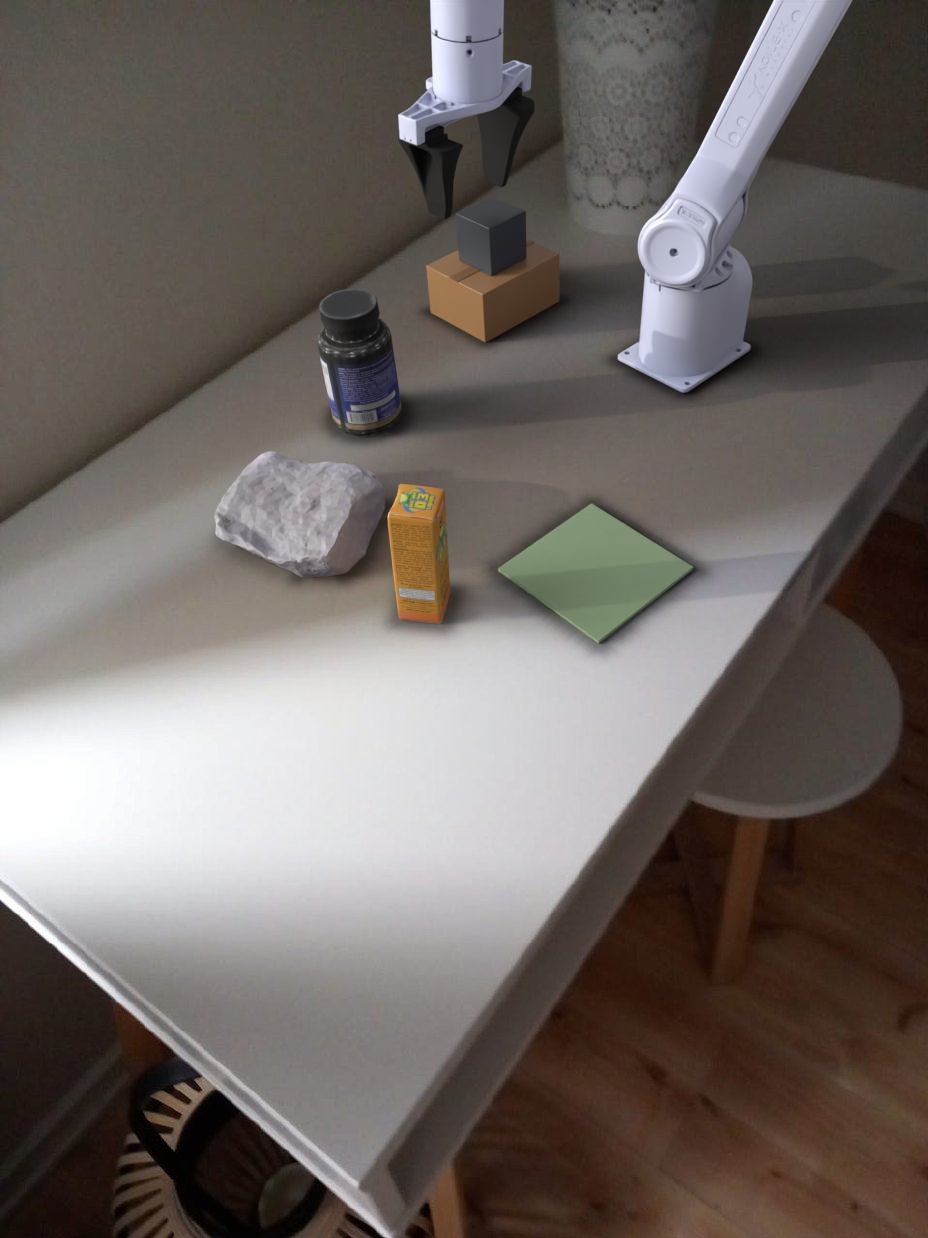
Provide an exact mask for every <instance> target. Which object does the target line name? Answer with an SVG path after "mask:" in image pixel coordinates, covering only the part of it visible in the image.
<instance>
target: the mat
mask: <svg viewBox="0 0 928 1238" xmlns="http://www.w3.org/2000/svg"><path fill="white" fill-rule="evenodd" d="M693 570H694V566H693V565H691V564H689V563H688V562H686V561H685V560H683V559H681V558H680V557H678V556H676V555H675V554H674V553H672V552H670V551H668V550H667V549H666V548H664V547H662V546H661V545H659V544H657V543H656V542H654V541H653V540H651V539H649V538H648V537H646V536H645V535H643V534H641V533H640V532H638V531H636V529H633V528H632V527H630V526H628V525H627V524H626V523H624V522H623V521H621V520H619V519H618V518H616V517H614V516H613V515H611V514H609V513H608V512H606V511H605V510H603V509H601V508H600V507H598V506H597V505H595V504H594V503H592V502H591V503H590V504H588V505H587V506H585V507H584V508H582V509H581V510H580V511H578V512H577V513H575V514H574V515H573V516H571V517H569V518H568V519H567V520H565V521H564V522H562V523H561V524H560V525H558V526H557V527H555V528H554V529H553V530H551V531H550V532H547V534H545V535H543V536H542V537H541V538H540V539H538V540H536V541H535V542H534V543H532V544H531V545H529V546H527V548H525V549H524V550H522V551H520V552H519V553H518V554H517V555H515V556H514V557H512V558H510V559H509V560H508V561H506V562H505V563H503V564H502V565H501V566H499V567H497V571H498V572H499V573H500V574H501V575H503V576H504V577H506V578H507V579H509V580H510V581H511V582H513V584H515V585H517V586H518V587H519V588H521V589H522V590H524V592H526V593H528V594H529V595H530V596H532V597H533V598H534V599H536V600H537V601H538V602H540V603H541V604H542V605H544V606H546V607H547V608H548V609H549V610H551V611H552V612H554V613H555V614H557V615H558V616H560V617H561V618H562V619H564V620H565V621H566V622H568V623H569V624H570V625H572V626H573V627H575V628H576V629H577V630H579V631H580V632H581V633H583V634H584V635H585V636H586V637H589V638H590V639H591V640H593V642H595V643H597V644H600V643H602V642H603V641H604V640H606V639H607V638H608V637H609V636H610V635H612V634H613V633H615V632H616V631H617V630H618V629H620V628H621V627H622V626H623V625H624V624H626V623H627V622H628V621H630V620H631V619H632V618H633V617H635V616H636V615H637V614H639V613H640V612H641V611H642V610H644V609H645V608H646V607H647V606H649V605H650V604H651V603H653V602H654V601H655V600H657V599H658V598H659V597H660V596H661V595H663V593H666V592H667V591H668V590H669V589H670V588H672V587H674V586H675V584H677V583H678V582H680V581H681V580H682V579H683V578H685V577H686V576H687V575H688V574H689V573H691V572H692V571H693Z"/></svg>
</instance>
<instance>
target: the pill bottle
mask: <svg viewBox="0 0 928 1238" xmlns="http://www.w3.org/2000/svg"><path fill="white" fill-rule="evenodd" d="M318 310H319V317H320V321H321V324H322V325H323V327H322V328H321V330H320V331H319V333H318V336H317V340H316V341H317V342H316V343H317V348H318V355H319V358H320V364H321V369H322V373H323V378H324V383H325V388H326V393H327V397H328V403H329V407H330V411H331V416H332V421H333V424H334V425H335V426H336V427H337V428H338V429H339V430H340V431H343V432H344V433H347V434H350V435H353V436H363V437H364V436H372V435H378V434H381V433H384V432H386V431H388V430H390V429H392V427H394V426H395V425H396V424H397V423H398V422H399V420H400V419H401V417H402V399H401V394H400V393H401V392H400V386H399V378H398V372H397V365H396V358H395V353H394V352H395V350H394V344H393V338H392V334H391V330H390V327H389V326H388V324H387V323H385V322H384V321H383V320H382V319H381V318H380V312H381V311H380V308H379V301H378V299H377V297H376V295H375V294H374V293H373V292H371V291H369V290H366V289H362V288H346V289H341V290H337V291H334V292H332V293H330V294H328V295H327V296H325V297H324V298H323V299H322V300H321V301H320V303H319V307H318Z"/></svg>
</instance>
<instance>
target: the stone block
mask: <svg viewBox="0 0 928 1238" xmlns="http://www.w3.org/2000/svg"><path fill="white" fill-rule="evenodd" d="M385 490H386V489H385V487H384V486H383V484H382V483H381V481H380V479H379V478H378V477H377V476H376V475H375V474H374V472H372V471H371V470H370V469H367V468H364V467H361V466H359V465H357V464H351V463H348V462H338V461H337V462H336V461H335V462H334V461H322V462H315V463H313V462H312V463H310V462H303V461H301V460H298V459H291V458H289V457H287V456H285V455H283V454H281V453H279V452H276V451H269V450H268V451H266V452H263V453H260V455H258V456H257V457H256V458H255V459H253V461H251V462H250V463H247V465H246V467H245V468H244V469H243V470H242V472H241V473H240V474H239V475H238V476H237V477H236V479H235V480H234V482H233V483H232V484H231V485H230V486H229V488H228V489H227V490H226V491H225V492H224V494H223V496H222V498H221V499H220V502H219V503H218V505H217V506H216V509H215V511H214V515H213V517H214V522H215V532H214V534H215V536H216V537H217V538H218V539H220V540H222V541H223V542H227V543H229V544H231V545H233V546H238V547H240V548H242V549H244V550H245V551H247V552H248V553H252V554H253V555H255V556H259V557H260V558H263V559H264V560H265V561H266V562H268V563H271V564H273V565H276V566H278V567H279V568H281V569H283V570H287V571H290V572H291V573H293V574H295V576H298V577H301V578H306V579H314V578H319V577H335V576H339V575H344V574H346V573H348V572H349V571H350V570H351V569H352V568H353V567H354V566H355V565H356V564H357V563H358V562H359V561H360V560H361V559H362V558H364V557H365V556H366V553H367V550H368V546H369V544H370V542H371V538H372V536H373V534H374V532H375V531H376V530H377V528H378V524H379V522H380V520H381V518H382V515H383V513H384V511H385V508H386V491H385Z"/></svg>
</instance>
